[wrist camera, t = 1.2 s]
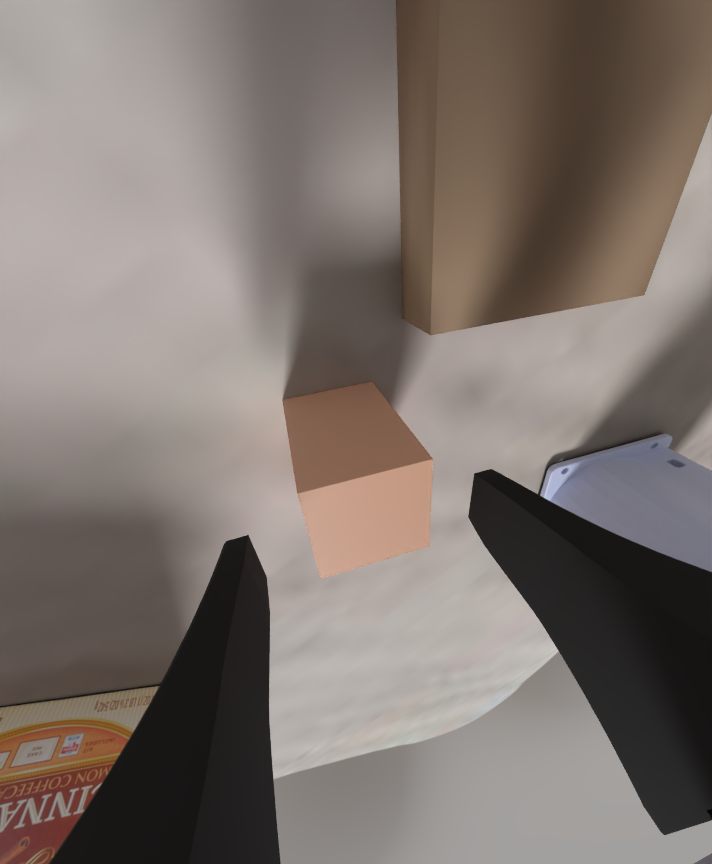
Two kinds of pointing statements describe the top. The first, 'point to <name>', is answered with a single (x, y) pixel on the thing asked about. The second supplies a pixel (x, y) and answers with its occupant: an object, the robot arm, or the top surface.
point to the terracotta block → (358, 477)
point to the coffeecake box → (58, 766)
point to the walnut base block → (542, 150)
